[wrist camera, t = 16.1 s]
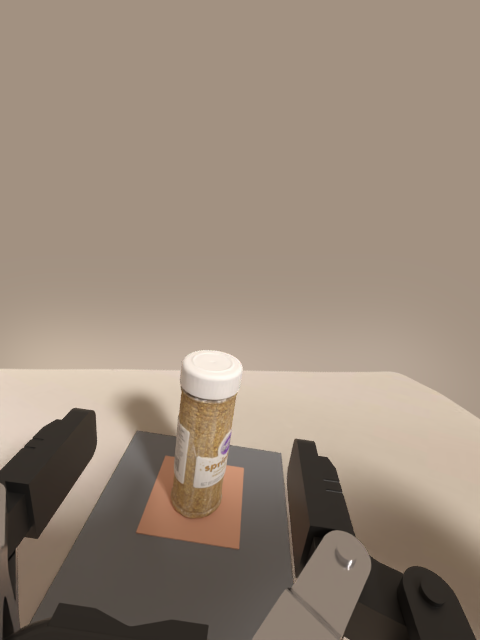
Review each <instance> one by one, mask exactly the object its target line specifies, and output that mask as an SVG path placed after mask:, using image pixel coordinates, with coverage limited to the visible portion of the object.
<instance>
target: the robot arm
mask: <svg viewBox="0 0 480 640" xmlns="http://www.w3.org/2000/svg"><path fill="white" fill-rule="evenodd" d="M96 445H97V432H96V415H95V412H94V411H93V410H87V409H79V408H73V409H72V410H71V411H70V412H69V413H68V414H67V415H66V416H65V417H64V418H63V419H62V420H59V419H56V420H55V421H53V422H51V423H49V424H48V425H46V426H44V427H43V428H42V429H41V430H40V431H39V432H38V433H37V434H36V435H35V436H34V437H33V439H32V440H30V441H29V442H28V443H27V444H26V445H25V446H24V448H22V449H21V450H20V451H19V452H18V453H17V454H16V455H15V456H14V457H13V458H12V459H11V460H10V461H9V462H8V463H7V464H6V465H5V466H4V467H3V468H2V469H1V470H0V640H209V639H207V636H208V628H209V625H206V624H199V623H193V622H186V621H179V620H172V619H171V620H166V621H160V622H154V623H148V624H143V625H137V626H128V625H126V624H124V623H122V622H120V621H118V620H116V619H115V618H113V617H111V616H109V615H107V614H106V613H104V612H102V611H100V610H98V609H97V608H92V607H85V606H79V605H72V604H65V603H59V604H58V606H57V608H56V610H55V612H54V614H53V616H52V617H50V618H46V619H43V620H39V621H36V622H34V623H32V624H29V625H27V626H25V627H23V628H21V629H20V622H19V611H18V551H17V546H18V545H19V544H20V542H21V541H22V539H23V538H24V537H29V538H35V539H38V537H39V536H40V534H41V533H42V531H43V530H44V528H45V527H46V525H47V524H48V522H49V521H50V519H51V518H52V517H53V515H54V514H55V512H56V511H57V509H58V508H59V506H60V505H61V503H62V502H63V500H64V499H65V497H66V496H67V494H68V493H69V491H70V490H71V488H72V487H73V485H74V484H75V482H76V481H77V479H78V478H79V476H80V475H81V473H82V472H83V470H84V469H85V467H86V466H87V464H88V463H89V461H90V460H91V458H92V457H93V455H94V452H95V449H96ZM287 490H288V501H289V511H290V522H291V533H292V543H293V554H294V564H295V575H296V578H297V580H296V581H295V583H294V584H293V586H292V587H291V588H289V587H288V588H286V589H285V590H284V592H283V593H282V594H281V596H280V597H279V599H278V600H277V602H276V603H275V605H274V606H273V608H272V609H271V611H270V612H269V614H268V615H267V617H266V618H265V620H264V621H263V623H262V624H261V626H260V628H259V629H258V631H257V632H256V634H255V635H254V637H253V638H252V640H343V639H344V637H346V638H348V639H350V640H476V638H475V636H474V634H473V632H472V629H471V627H470V625H469V623H468V621H467V618H466V616H465V614H464V612H463V610H462V607H461V605H460V603H459V601H458V599H457V597H456V595H455V593H454V592H453V590H452V589H451V588H450V587H449V585H448V584H447V583H446V582H445V581H444V580H443V579H442V578H441V577H439V576H438V575H437V574H435V573H434V572H432V571H430V570H428V569H426V568H423V567H418V566H413V567H410V568H408V569H407V570H406V571H405V572H404V574H403V573H401V572H399V571H396V570H394V569H392V568H390V567H388V566H386V565H384V564H382V563H380V562H378V561H376V560H375V559H373V558H372V557H371V556H370V555H369V554H368V551H367V550H366V548H365V547H364V545H363V544H362V543H361V542H360V541H359V540H358V539H357V538H356V537H355V534H354V531H353V527H352V524H351V520H350V517H349V513H348V510H347V506H346V503H345V499H344V496H343V494H342V489H341V485H340V483H339V478H338V475H337V471H336V468H335V467H334V466H333V464H332V463H331V462H330V460H329V459H328V457H322V456H318V453H317V449H316V445H315V442H314V441H308V440H301V439H295V440H294V443H293V448H292V452H291V457H290V462H289V466H288V472H287Z"/></svg>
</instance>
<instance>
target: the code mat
mask: <svg viewBox="0 0 480 640" xmlns="http://www.w3.org/2000/svg"><path fill="white" fill-rule="evenodd" d="M175 448H176V437H175V436H168V435H162V434H156V433H149V432H143V431H137V432H136V434H135V436H134V437H133V439H132V441H131V443H130V444H129V446H128V448H127V450H126V452H125V453H124V455H123V457H122V459H121V461H120V462H119V464H118V466H117V468H116V470H115V471H114V473H113V475H112V477H111V479H110V480H109V482H108V484H107V486H106V488H105V489H104V491H103V493H102V495H101V497H100V498H99V500H98V502H97V504H96V505H95V507H94V509H93V511H92V513H91V514H90V516H89V518H88V520H87V522H86V523H85V525H84V527H83V529H82V531H81V532H80V534H79V536H78V538H77V540H76V541H75V543H74V545H73V547H72V549H71V550H70V552H69V554H68V556H67V557H66V559H65V561H64V563H63V565H62V566H61V568H60V570H59V572H58V574H57V575H56V577H55V579H54V581H53V583H52V584H51V586H50V588H49V590H48V592H47V593H46V595H45V597H44V599H43V601H42V602H41V604H40V606H39V608H38V609H37V611H36V613H35V615H34V617H33V618H32V620H31V622H30V624H32V623H34V622H36V621H39V620H43V619H46V618H50V617H52V616H53V614H54V612H55V610H56V608H57V606H58V604H59V603H65V604H72V605H79V606H85V607H92V608H97V609H98V610H100V611H102V612H104V613H106V614H107V615H109V616H111V617H113V618H115V619H116V620H118V621H120V622H122V623H124V624H126V625H128V626H137V625H143V624H148V623H154V622H160V621H166V620H171V619H172V620H179V621H186V622H193V623H199V624H206V625H209V628H208V636H207V639H209V640H252V638H253V637H254V635H255V634H256V632H257V631H258V629H259V628H260V626H261V624H262V623H263V621H264V620H265V618H266V617H267V615H268V614H269V612H270V611H271V609H272V608H273V606H274V605H275V603H276V602H277V600H278V599H279V597H280V596H281V594H282V593H283V592H284V590H285V589H286V588H288V587H289V588H291V587H292V586H293V577H292V566H291V555H290V544H289V533H288V522H287V511H286V500H285V490H284V479H283V468H282V457H281V453H277V452H271V451H264V450H258V449H252V448H245V447H239V446H232V445H229V451H228V458H227V464H226V470H225V474H224V478H223V484H222V500H221V504H220V505H219V507H218V508H217V509H216V510H215V511H214V512H213V513H212V514H210V515H209V516H207V517H203V518H189V517H185V516H183V515H182V514H180V513H179V512H178V511H177V510H176V509H175V508H174V506H173V504H172V500H171V491H172V488H173V483H174V459H175Z"/></svg>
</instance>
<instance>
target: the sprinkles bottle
mask: <svg viewBox="0 0 480 640" xmlns="http://www.w3.org/2000/svg"><path fill="white" fill-rule="evenodd" d="M242 369H243V368H242V365H241V363H240V361H239V360H238V359H236V358H235V357H234V356H232V355H230V354H227V353H224V352H220V351H213V350H202V351H196V352H193V353H190V354H188V355H187V356H186V357H185V358H184V359H183V361H182V366H181V375H180V384H181V390H182V394H181V403H180V413H179V416H178V426H177V437H176V448H175V459H174V483H173V488H172V491H171V500H172V504H173V506H174V508H175V509H176V510H177V511H178V512H179V513H180V514H182V515H183V516H185V517H189V518H203V517H207V516H209V515H210V514H212V513H213V512H214V511H215V510H216V509H217V508H218V507H219V505H220V504H221V500H222V484H223V478H224V474H225V470H226V464H227V458H228V451H229V445H230V438H231V431H232V429H231V427H232V420H233V414H234V406H235V400H236V395H237V393H238V391H239V389H240V384H241V378H242Z"/></svg>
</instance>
